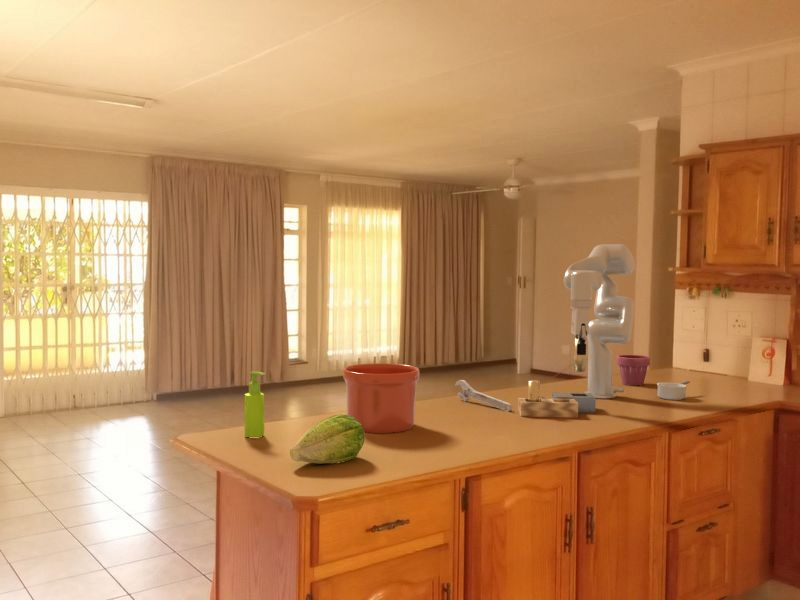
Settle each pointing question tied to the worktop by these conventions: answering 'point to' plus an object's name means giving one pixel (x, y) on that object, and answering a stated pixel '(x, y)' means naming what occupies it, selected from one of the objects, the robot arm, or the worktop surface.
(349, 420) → the green papaya
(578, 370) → the gold cylinder
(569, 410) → the rack
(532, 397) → the amber rod
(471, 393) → the wrench
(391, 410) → the pot
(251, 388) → the soap dispenser
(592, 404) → the socket block
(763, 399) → the worktop surface
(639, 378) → the plant pot
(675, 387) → the saucepan
